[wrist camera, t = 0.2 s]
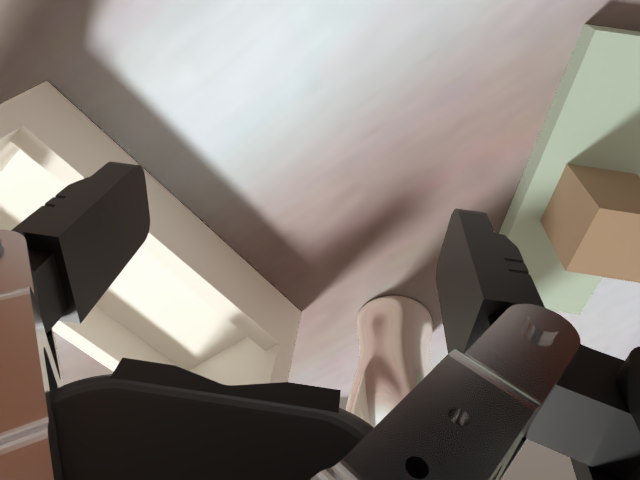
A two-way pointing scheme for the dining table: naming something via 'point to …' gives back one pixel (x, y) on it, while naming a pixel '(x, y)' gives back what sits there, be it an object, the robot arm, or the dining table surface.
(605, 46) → the shelf board
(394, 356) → the beer glass
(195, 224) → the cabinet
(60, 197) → the robot arm
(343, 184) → the dining table surface
